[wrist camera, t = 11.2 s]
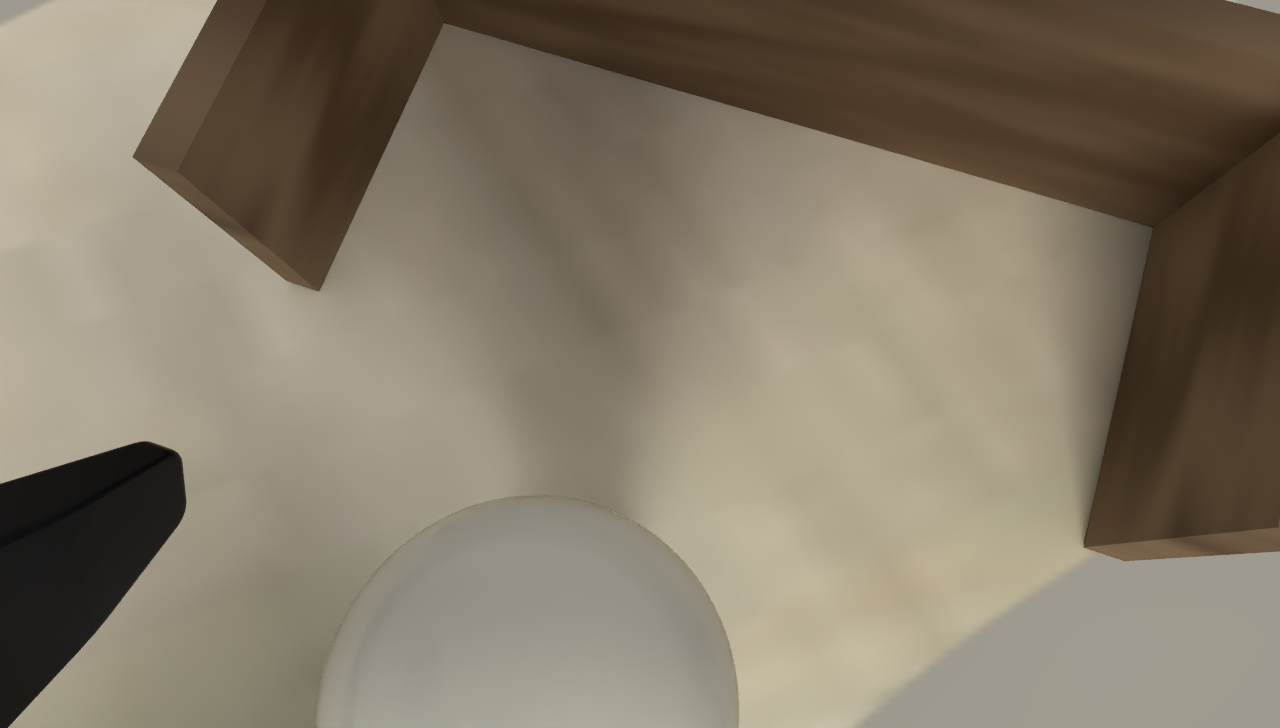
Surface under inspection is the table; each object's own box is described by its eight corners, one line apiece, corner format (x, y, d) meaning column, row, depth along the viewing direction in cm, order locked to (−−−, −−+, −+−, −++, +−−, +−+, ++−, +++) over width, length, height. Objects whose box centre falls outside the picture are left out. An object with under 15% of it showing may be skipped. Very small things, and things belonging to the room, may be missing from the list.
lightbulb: (496, 505, 22) (332, 417, 11) (739, 567, 21) (806, 536, 11) (419, 766, 20) (146, 949, 10) (679, 841, 20) (690, 1123, 9)
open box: (1124, 561, 21) (1339, 547, 14) (286, 280, 24) (132, 156, 17) (1197, 205, 23) (1413, 48, 17) (426, -14, 26) (340, -226, 19)
